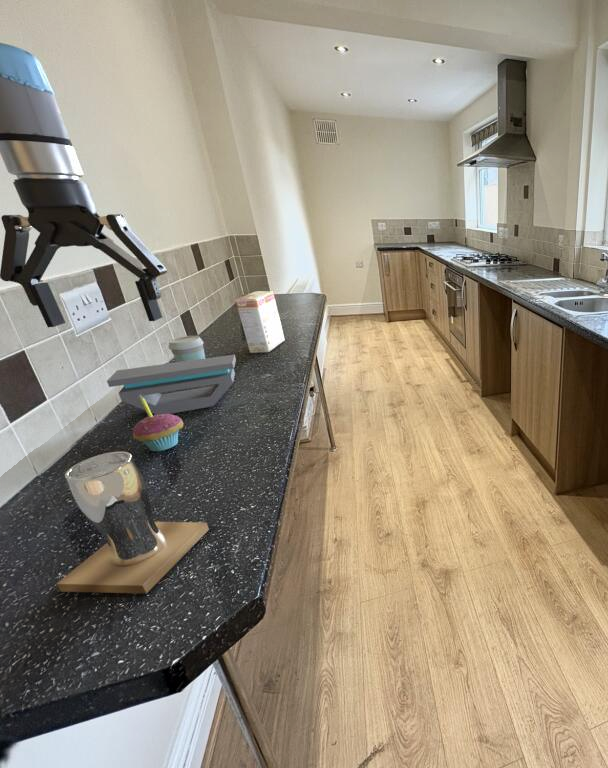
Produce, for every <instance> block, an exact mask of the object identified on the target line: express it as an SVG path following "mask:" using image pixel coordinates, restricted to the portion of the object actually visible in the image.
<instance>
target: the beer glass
mask: <svg viewBox="0 0 608 768" xmlns="http://www.w3.org/2000/svg"><path fill="white" fill-rule="evenodd" d="M64 478H65V479H66V481H67V485H68V487H69V490H70V493H71V495H72V497H73V500H74V501H75V504H76V505H77V507H78V509H79V510H80V512H81V513H82V515H83V516H84V517H85V518H86V520H87V521H88V522H89V523H90V524H91V525H92V526H93V527H94V528H95V529H96V530H97V531H98V533H100V535H101V536H102V537H103V538H104V540H105V541H106V543H108V545H109V549H110V554H111V559H112V562H113V563H114V564H116V565H119V566H126V565H131V564H135V563H138V562H141V561H143V560H145V559H147V558H149V557H151V556H152V555H154V554H155V553H157V552H158V551H159V550H160V549H161V548H162V547H163V545H164V544H165V541H166V539H165V536H164V535H163V533H162V532H161V531H160V530H159V529H158V527H157V526H156V524H155V522H156V521H155V520H154V517H153V512H152V505H151V499H150V494H149V489H148V485H147V482H146V480H145V478H144V476H143V473H142V472H141V470H140V468H139V467H138V465H137V463H136V462H135V459H134V457H133V456H132V454H131V453H130V452H128V451H113V452H112V451H111V452H107V453H102V454H98V455H94V456H92V457H89V458H86V459H84V460H82V461H80V462H77V463H76V464H74V465H73V466H71V467H70V468H69V469H68V470H67V471H65V474H64Z"/></svg>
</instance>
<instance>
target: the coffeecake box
mask: <svg viewBox="0 0 608 768" xmlns="http://www.w3.org/2000/svg"><path fill="white" fill-rule="evenodd" d="M274 293H275V292H274V291H273V290H270V291H269V290H267V291H266V290H265V291H264V290H263V291H262V290H258V291H253V292H251V293H248V294H246V295H244V296H241V297H238V298H235V300H234V301H235V303H236V308H237V311H238V314H239V318H240V321H241V325H242V329H243V332H244V336H245V340H246V343H247V347H248V351H249V353H250V354H258V353H270V352H271V351H273V350H274V349H275V348H277V347H278V346H279V345H280V344H282V343H283V342H285V341H286V339H285V336H284V335H285V334H284V331H283V326H282V322H281V318H280V314H279V310H278V305H277V301H276V298H275V294H274Z"/></svg>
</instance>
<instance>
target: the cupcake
mask: <svg viewBox="0 0 608 768" xmlns="http://www.w3.org/2000/svg"><path fill="white" fill-rule="evenodd" d="M140 397H141V399H140V400H141V402H142V404H143V406H144V408H145V410H144V411H145V412H146V414H147V416H146V417H145V418H142V419H141V420H139V421H138V422H136V423H135V426H133V428H132V430H131V431H132V437H133V439H134V440H137V441H139V442H142V443H143V444H144V445H145V446H146V447H147V448H148V449H149V450H150V451H151V452H161V451H166V450H169V449H171V448H173V447H175V446H176V445H178V443H179V431H180V430H182V429H183V427H184V422H183V420H182V418H181V417H179V416H178V415H174V414H173V413H172V414H158V415H157V414H154V415H153V413H151V411H150V409H149V407H148V405H147V403H146V401H145V399H144V398H142V396H141V395H140Z"/></svg>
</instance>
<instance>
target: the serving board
mask: <svg viewBox="0 0 608 768" xmlns="http://www.w3.org/2000/svg"><path fill="white" fill-rule="evenodd" d="M154 522H155V524H156V526H157V527H158V529H159V530H160V531H161V532H162V533H163V535H164V536H165V539H166V541H165V544H164V545H163V547H162V548H161V549H160V550H159V551H158V552H157V553H155V554H154V555H152V556H151V557H149V558H147V559H145V560H143V561H141V562H138V563H135V564H131V565H126V566H119V565H116V564H114V563H113V562H112V559H111V554H110V549H109V545H108V543H107V542H106V543H105V544H104V545H103V546H102V547H100V548H99V549H98V550H96V551H95V552H94V553H93V554H91V555H90V556H89V557H87V558H86V559H85V560H83V562H82V563H79V565H77V566H76V567H75V568H74V569H73V570H71V571H70V572H69V573H68V574H66V575H65V576H64V577H63V578H61V579H60V580H59V581H58V582H57V583H56V586H57V588H58V589H59V592H61V593H62V592H65V593H103V594H105V593H107V594H108V593H109V594H148V593H149V592H150V591H151V590H152V589H153V588H154V587H155V585H156V584H157V583H159V582H160V581H161V580H162V578H164V576H166V574H167V573H168V572H169V571H170V570H171V569H173V567H175V566H176V564H177V563H178V562H179V561H180V560H181V559H182V558H183V557H184V556H185V555H186V554H187V553H188V552H189V551H190V550H191V549H192V548H193V547H194V546H195V545H196V544H198V542H199V541H200V539H202V538H203V536H205V534H207V533H208V531H209V530H210V528H209V525H208V523H207V522H196V521H195V522H191V521H185V522H184V521H154Z"/></svg>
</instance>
